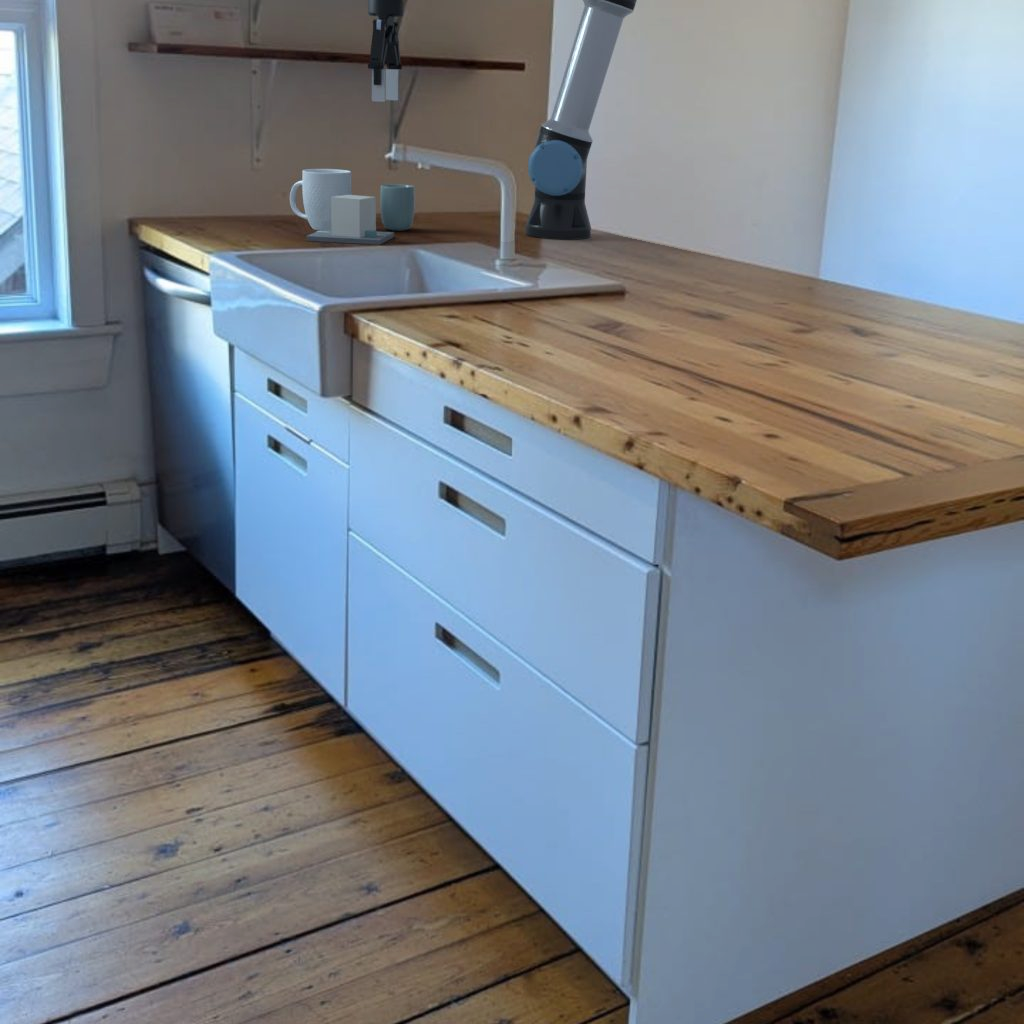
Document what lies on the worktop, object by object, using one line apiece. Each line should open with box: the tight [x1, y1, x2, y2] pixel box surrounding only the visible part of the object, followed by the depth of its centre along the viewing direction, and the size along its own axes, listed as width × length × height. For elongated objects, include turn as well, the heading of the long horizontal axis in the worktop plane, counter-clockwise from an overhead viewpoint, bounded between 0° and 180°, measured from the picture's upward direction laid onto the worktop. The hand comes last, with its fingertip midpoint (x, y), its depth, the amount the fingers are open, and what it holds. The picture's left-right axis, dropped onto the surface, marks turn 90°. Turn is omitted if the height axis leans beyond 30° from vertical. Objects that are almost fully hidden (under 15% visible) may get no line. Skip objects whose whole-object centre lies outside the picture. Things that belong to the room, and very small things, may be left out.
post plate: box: [306, 229, 395, 245], centre depth 286 cm, size 16×14×7 cm
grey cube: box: [331, 194, 377, 238], centre depth 285 cm, size 7×10×8 cm
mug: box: [289, 168, 352, 231], centre depth 300 cm, size 15×11×13 cm
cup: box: [379, 183, 416, 232], centre depth 304 cm, size 8×8×10 cm
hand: (385, 101), depth 288 cm, fingers open, 13 cm apart
